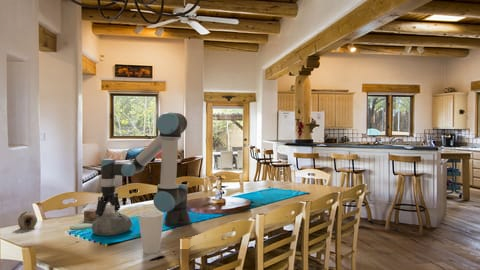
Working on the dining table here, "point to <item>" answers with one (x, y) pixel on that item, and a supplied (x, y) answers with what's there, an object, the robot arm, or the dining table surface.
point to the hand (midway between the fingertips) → (108, 223)
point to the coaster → (81, 226)
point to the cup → (151, 231)
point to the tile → (86, 221)
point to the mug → (109, 209)
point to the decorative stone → (111, 224)
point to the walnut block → (90, 215)
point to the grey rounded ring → (27, 220)
